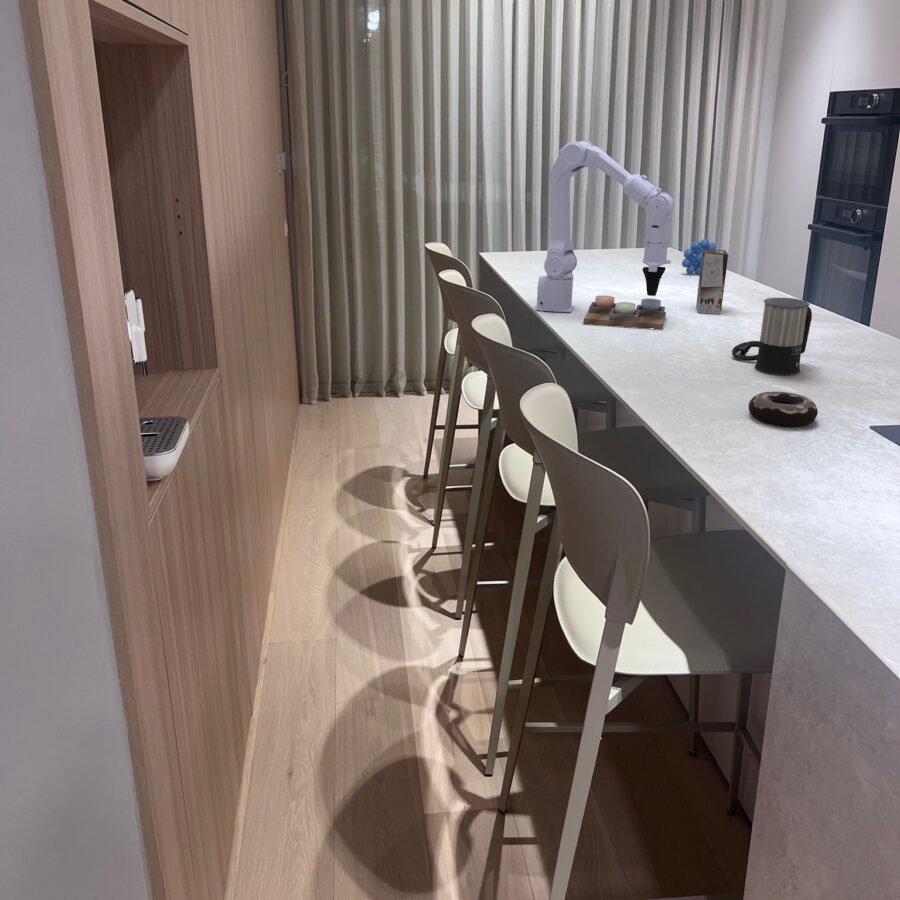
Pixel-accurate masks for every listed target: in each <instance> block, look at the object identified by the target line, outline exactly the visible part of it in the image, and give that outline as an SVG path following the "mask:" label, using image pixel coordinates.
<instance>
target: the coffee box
mask: <svg viewBox="0 0 900 900" xmlns="http://www.w3.org/2000/svg"><path fill="white" fill-rule="evenodd" d="M728 260H729V253H728V252H727V251H726V249H724V250H723V249H715V250H702V257H701V266H700V275H698V276H699V277H698V285H697V295H696V311H697V313H698V314H711V315H713V314H714V315H721V314H722V309H723V308H722V307H723V298H724V293H725V284H726V283H725V282H726V276H727V268H728V262H729V261H728Z"/></svg>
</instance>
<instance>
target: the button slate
mask: <svg viewBox="0 0 900 900" xmlns="http://www.w3.org/2000/svg"><path fill="white" fill-rule="evenodd" d="M640 305H641V310H650V311H660V306H662V300H661V299H657V298H642V299H641V300H640Z"/></svg>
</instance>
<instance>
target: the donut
mask: <svg viewBox="0 0 900 900" xmlns="http://www.w3.org/2000/svg"><path fill="white" fill-rule="evenodd" d="M818 411H819V410H818V408H817V404H816V403H815V402H814V401H813V400H812V399H811V398H809V397H807V396H805V395H800V394H799V393H794V392H787V391H777V390H776V391H774V390H773V391H765V392H760V393H757V394H755V395H754V396H753V397H752V398H751V399H750V400H749V402H748V412H749V414H750V415H751V417H753V419H755V420H757V421H759V422H760V423H763V424H766V425H770V426H774V427H780V428H801V427H805V426H808V425H810V424H812V423H813V422H814V421H815V420H816V419H817V416H818Z"/></svg>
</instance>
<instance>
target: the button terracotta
mask: <svg viewBox="0 0 900 900" xmlns="http://www.w3.org/2000/svg"><path fill="white" fill-rule="evenodd" d="M594 302H595V307H605V308H613V307H614V303H615V297H614V296H612V295H596V296H595V300H594Z"/></svg>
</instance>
